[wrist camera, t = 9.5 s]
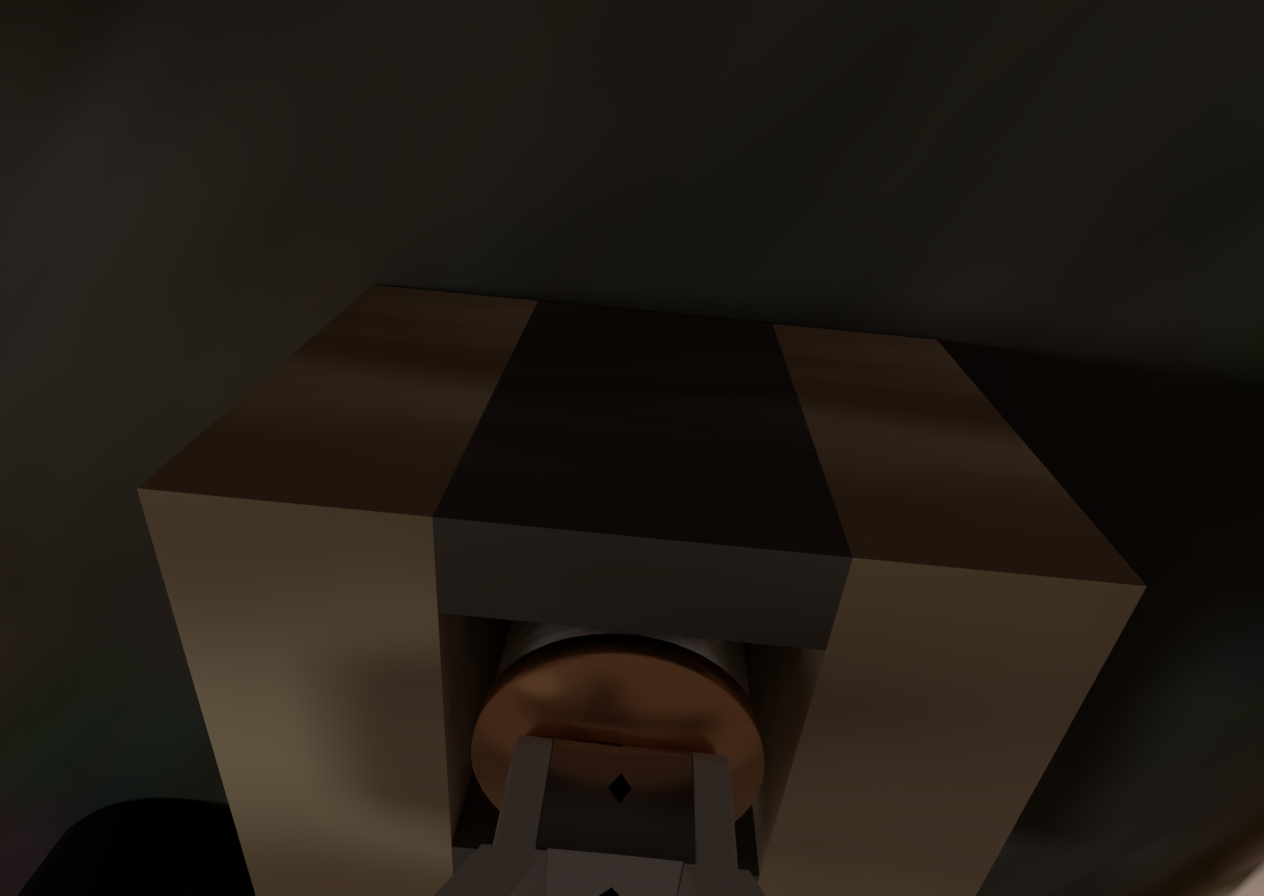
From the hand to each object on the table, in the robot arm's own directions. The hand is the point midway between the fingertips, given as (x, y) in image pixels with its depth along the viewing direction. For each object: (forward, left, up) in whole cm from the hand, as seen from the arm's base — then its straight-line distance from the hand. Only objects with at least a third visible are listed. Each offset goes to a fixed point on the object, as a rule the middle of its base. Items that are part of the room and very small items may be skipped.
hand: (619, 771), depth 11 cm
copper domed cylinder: (0, 0, -8) cm, 8 cm away
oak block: (+4, 0, -8) cm, 9 cm away
